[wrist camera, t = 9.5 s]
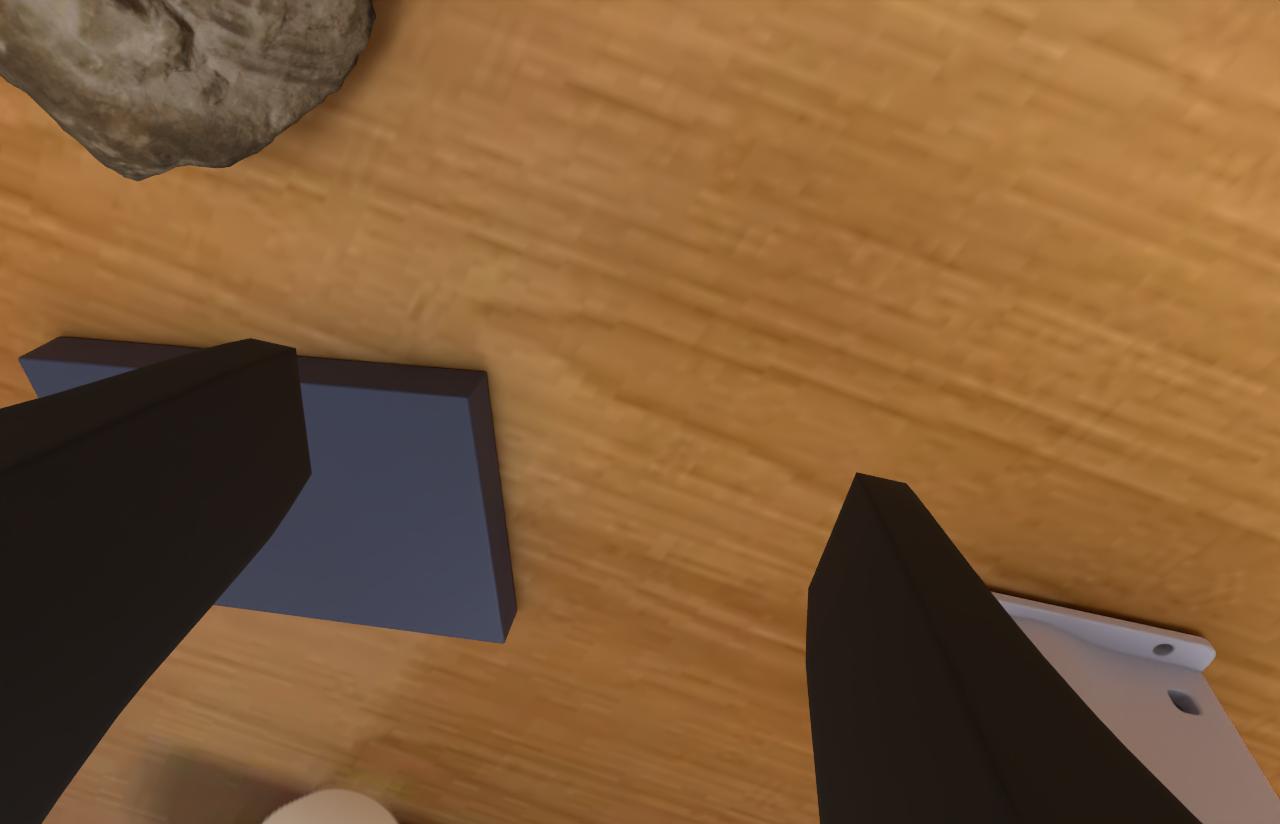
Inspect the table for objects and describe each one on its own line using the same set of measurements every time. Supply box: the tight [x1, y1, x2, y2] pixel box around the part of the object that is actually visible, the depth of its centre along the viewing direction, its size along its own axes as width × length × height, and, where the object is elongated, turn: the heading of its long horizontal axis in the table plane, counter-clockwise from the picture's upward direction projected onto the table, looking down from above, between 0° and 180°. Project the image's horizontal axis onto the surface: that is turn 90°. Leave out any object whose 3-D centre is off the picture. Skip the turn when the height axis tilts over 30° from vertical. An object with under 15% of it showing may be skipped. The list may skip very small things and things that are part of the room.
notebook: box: [18, 337, 517, 644], centre depth 23 cm, size 14×10×2 cm
